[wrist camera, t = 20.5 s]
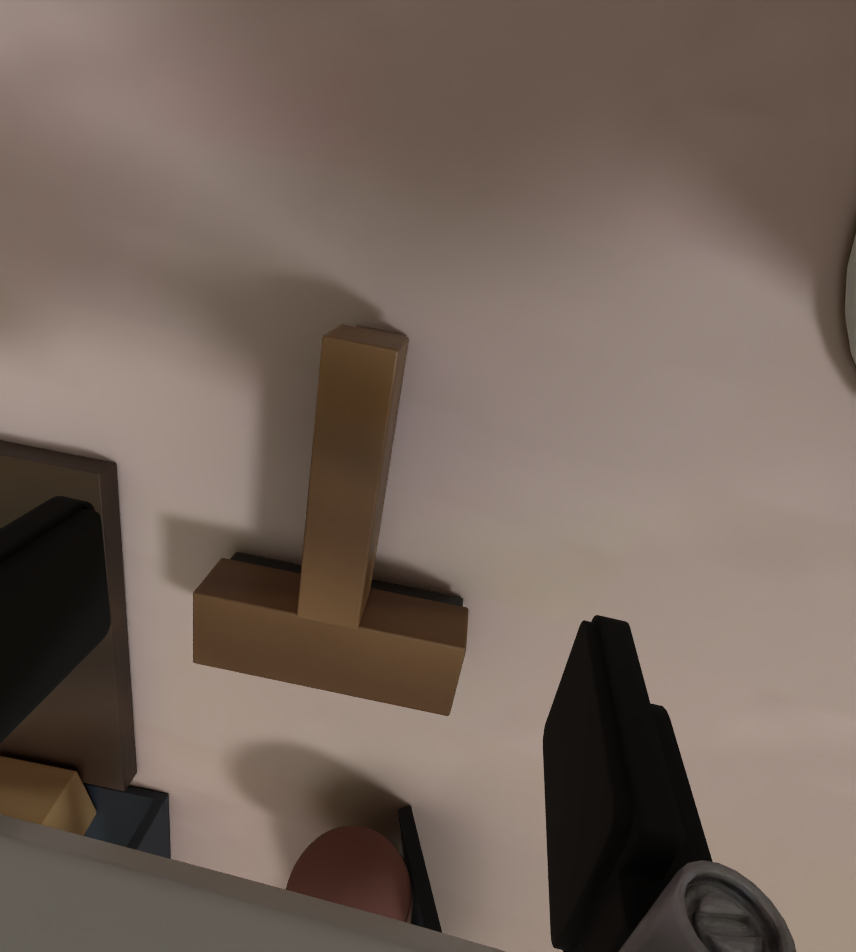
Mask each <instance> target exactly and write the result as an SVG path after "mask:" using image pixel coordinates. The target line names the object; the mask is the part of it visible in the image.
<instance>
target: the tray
mask: <svg viewBox="0 0 856 952" xmlns="http://www.w3.org/2000/svg"><path fill="white" fill-rule="evenodd" d="M55 496H65V497H70V498H74V499H79V500H83V501H87V502H89V503H91V504H92V505H93V507H94V509H95V511H96V512H98V513H99V514H100V517H101V523H102V533H103V543H104V553H105V564H106V574H107V584H108V594H109V604H110V614H111V625H110V628H109V631H108V633H107V635H106V636H105V638H104V639H103V640H102V641H101V642H100V643H99V644H98V645H97V646H96V647H95V648H94V649H93V650H92V651H91V652H90V653H89V654H88V655H87V656H86V657H85V658H84V659H83V660H82V661H81V662H80V663H79V664H78V665H77V666H76V667H75V668H74V669H73V670H72V671H71V672H70V673H69V675H68V676H67V677H66V678H65V679H64V680H63V681H62V682H61V683H60V684H59V685H58V686H57V687H56V688H55V689H54V690H53V691H52V692H51V693H50V694H49V695H48V696H47V697H46V698H45V699H44V700H43V701H42V702H41V703H40V704H39V705H38V706H37V707H36V708H35V709H34V710H33V711H32V712H31V713H30V714H29V715H28V716H27V717H26V718H25V719H24V720H23V721H22V722H21V723H20V724H19V725H18V726H17V727H16V728H15V729H14V730H13V731H12V732H11V733H10V734H9V735H8V736H7V737H6V738H5V739H4V740H3V741H2V742H1V743H0V756H4V757H9V758H14V759H19V760H24V761H29V762H34V763H39V764H44V765H49V766H54V767H59V768H64V769H69V770H74V771H77V772H78V774H79V776H80V778H81V781H82V782H83V783H88V784H93V785H97V786H102V787H107V788H111V789H116V790H121V791H125V790H126V789H127V787H128V785H129V784H130V782H131V781H132V779H133V778H134V776H135V775H136V773H137V769H136V754H135V739H134V724H133V709H132V693H131V678H130V663H129V648H128V633H127V618H126V603H125V588H124V572H123V557H122V542H121V527H120V512H119V497H118V482H117V467H116V464H115V463H111V462H106V461H101V460H96V459H91V458H86V457H80V456H75V455H70V454H65V453H60V452H55V451H50V450H45V449H40V448H35V447H30V446H25V445H19V444H14V443H9V442H4V441H0V529H1V528H2V527H4V526H6V525H7V524H9V523H11V522H12V521H14V520H16V519H17V518H19V517H21V516H22V515H24V514H26V513H27V512H29V511H31V510H32V509H34V508H36V507H37V506H39V505H41V504H43V503H44V502H46V501H48V500H49V499H51V498H53V497H55Z"/></svg>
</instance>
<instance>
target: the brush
mask: <svg viewBox="0 0 856 952" xmlns="http://www.w3.org/2000/svg"><path fill="white" fill-rule="evenodd" d="M408 342H409V338H408V337H407V336H406V335H403V334H398V333H393V332H388V331H382V330H377V329H372V328H367V327H362V326H356V327H355V326H350V325H344V324H342V325H340V326H338V327H337V328H335V329H334V330H332V331H330V332H329V333H327V334H326V335H324V336H323V338H322V349H321V359H320V370H319V381H318V392H317V403H316V414H315V425H314V436H313V446H312V457H311V468H310V479H309V490H308V501H307V512H306V522H305V533H304V544H303V555H302V565H299V564H294V563H289V562H284V561H279V560H274V559H269V558H264V557H259V556H254V555H249V554H244V553H240V552H236V553H235V554H234V555H233V557H232V558H231V559H226V558H221V560H220V561H219V562H218V563H217V564H216V566H215V567H214V568H213V569H212V570H211V572H210V573H209V574H208V575H207V577H206V578H205V579H204V580H203V581H202V583H201V584H200V585H199V586H198V588H197V589H196V590H195V591H194V593H193V662H194V663H197V664H202V665H206V666H211V667H216V668H221V669H225V670H230V671H235V672H240V673H245V674H249V675H254V676H259V677H264V678H268V679H273V680H278V681H283V682H288V683H292V684H297V685H302V686H307V687H311V688H316V689H321V690H326V691H331V692H335V693H340V694H345V695H350V696H354V697H359V698H364V699H369V700H374V701H378V702H383V703H388V704H393V705H397V706H402V707H407V708H412V709H417V710H421V711H426V712H431V713H436V714H441V715H445V716H449V714H450V712H451V708H452V704H453V700H454V696H455V692H456V688H457V684H458V680H459V676H460V672H461V668H462V664H463V660H464V656H465V652H466V643H467V627H468V611H469V610H468V608H466V607H463V598H461V597H456V596H451V595H446V594H441V593H436V592H431V591H426V590H421V589H416V588H411V587H407V586H402V585H397V584H392V583H387V582H382V581H377V580H372V576H373V569H374V563H375V556H376V550H377V543H378V537H379V531H380V524H381V518H382V511H383V505H384V498H385V492H386V485H387V479H388V472H389V466H390V459H391V453H392V446H393V440H394V433H395V427H396V420H397V414H398V407H399V401H400V394H401V388H402V381H403V375H404V368H405V362H406V355H407V349H408Z"/></svg>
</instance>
